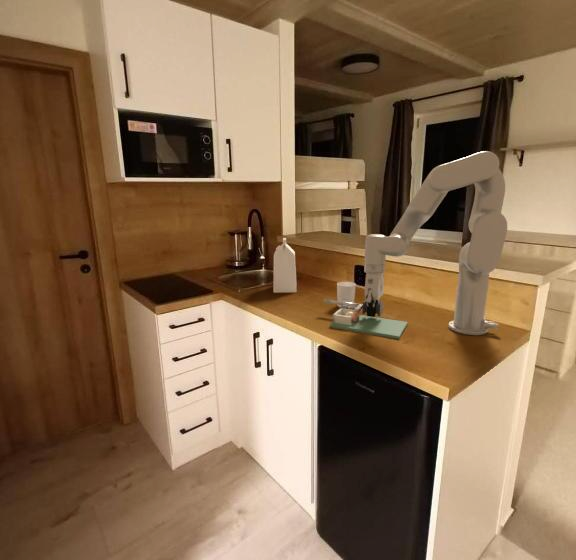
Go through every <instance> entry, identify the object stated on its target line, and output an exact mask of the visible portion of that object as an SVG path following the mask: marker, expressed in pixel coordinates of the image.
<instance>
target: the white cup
mask: <svg viewBox="0 0 576 560" xmlns="http://www.w3.org/2000/svg"><path fill="white" fill-rule="evenodd" d="M356 286H357V284H356V283H355V282H351V281H340V282H337V283H336V295H337V297H336V298H337V301H343V302H350V303H355V295H356ZM341 306H342V305H339V304H337V307H338V308H339V309H340V308H341ZM350 307H351V306H348V309H350Z"/></svg>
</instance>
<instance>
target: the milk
mask: <svg viewBox="0 0 576 560" xmlns="http://www.w3.org/2000/svg"><path fill="white" fill-rule="evenodd" d="M296 268H297V266H296V251H295V250H294V249H292V247H291V246H290V245H289V244H288V243H287V237H283V238H282V244H281V245H278V246H277V247H276V248H275V250H274V253H273V284H272V285H273V287H272V289H273V291H272V292H273V293H280V294H281V293H297V292H298V291H297V269H296Z"/></svg>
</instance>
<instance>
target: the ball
mask: <svg viewBox="0 0 576 560" xmlns="http://www.w3.org/2000/svg"><path fill="white" fill-rule="evenodd" d="M345 316H350V317H352V320H353V312H351V311H349V312H347V313H346V314H345Z"/></svg>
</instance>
